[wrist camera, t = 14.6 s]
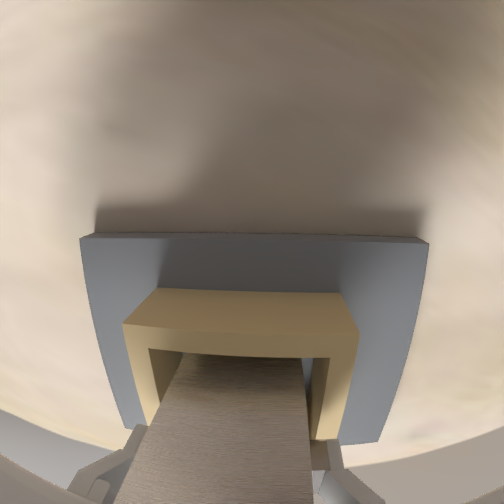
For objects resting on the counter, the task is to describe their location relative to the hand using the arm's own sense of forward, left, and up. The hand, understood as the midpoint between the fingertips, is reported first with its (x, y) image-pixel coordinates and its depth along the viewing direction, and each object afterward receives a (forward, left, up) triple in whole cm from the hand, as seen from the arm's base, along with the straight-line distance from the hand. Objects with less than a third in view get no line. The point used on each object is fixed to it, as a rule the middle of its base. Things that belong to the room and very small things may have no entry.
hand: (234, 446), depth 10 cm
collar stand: (0, 0, -7) cm, 7 cm away
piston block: (0, 0, -4) cm, 4 cm away
